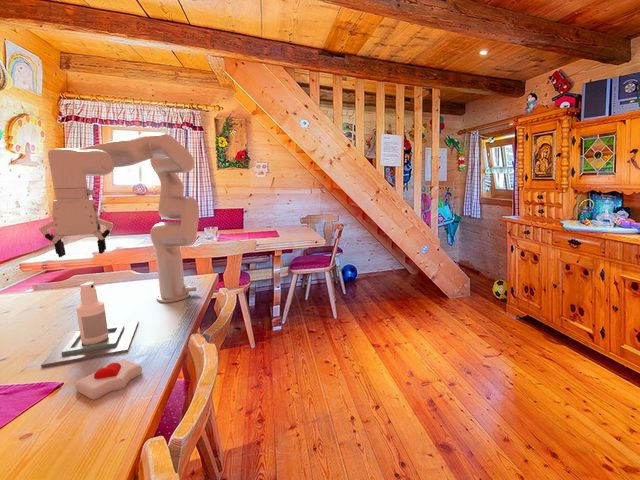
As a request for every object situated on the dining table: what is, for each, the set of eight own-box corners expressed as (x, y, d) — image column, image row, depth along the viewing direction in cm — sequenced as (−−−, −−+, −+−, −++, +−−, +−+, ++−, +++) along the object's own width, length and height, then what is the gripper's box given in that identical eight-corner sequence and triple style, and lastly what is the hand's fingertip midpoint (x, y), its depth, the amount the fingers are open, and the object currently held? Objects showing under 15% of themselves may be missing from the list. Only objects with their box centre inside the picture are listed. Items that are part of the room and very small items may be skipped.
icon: (94, 388, 70) (71, 376, 74) (97, 406, 70) (74, 392, 75) (147, 360, 80) (123, 350, 85) (149, 376, 81) (125, 365, 86)
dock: (138, 323, 110) (137, 318, 110) (127, 351, 92) (126, 346, 91) (68, 334, 103) (67, 328, 103) (41, 367, 85) (40, 361, 84)
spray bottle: (95, 346, 93) (87, 287, 90) (75, 344, 95) (66, 286, 91) (114, 335, 100) (106, 280, 97) (95, 333, 101) (86, 279, 98)
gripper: (111, 193, 95) (119, 248, 99) (39, 195, 89) (50, 254, 92) (105, 194, 88) (114, 254, 92) (26, 196, 82) (39, 260, 86)
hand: (82, 254), depth 92 cm, fingers open, 9 cm apart
